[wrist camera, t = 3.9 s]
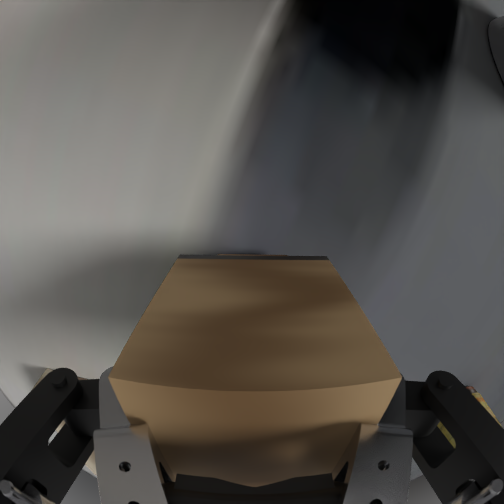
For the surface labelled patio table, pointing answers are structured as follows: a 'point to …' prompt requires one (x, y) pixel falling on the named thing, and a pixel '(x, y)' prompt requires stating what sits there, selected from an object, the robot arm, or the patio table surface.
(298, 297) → the oak peg
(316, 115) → the patio table surface
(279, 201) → the patio table surface
